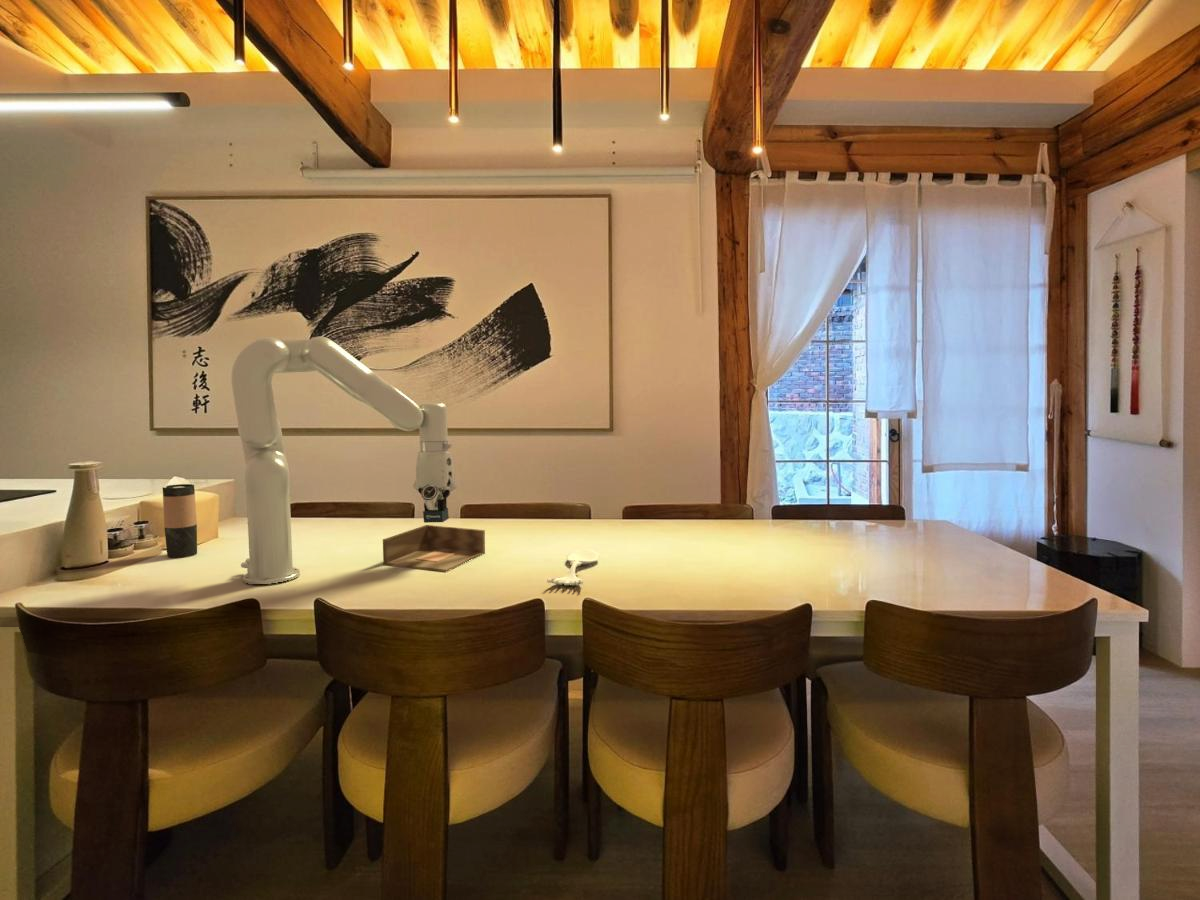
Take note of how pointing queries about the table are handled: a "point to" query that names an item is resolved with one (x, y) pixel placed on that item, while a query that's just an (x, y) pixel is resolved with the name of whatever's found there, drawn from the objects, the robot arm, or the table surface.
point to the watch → (433, 505)
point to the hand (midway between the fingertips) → (435, 511)
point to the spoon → (576, 560)
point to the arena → (433, 547)
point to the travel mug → (180, 520)
